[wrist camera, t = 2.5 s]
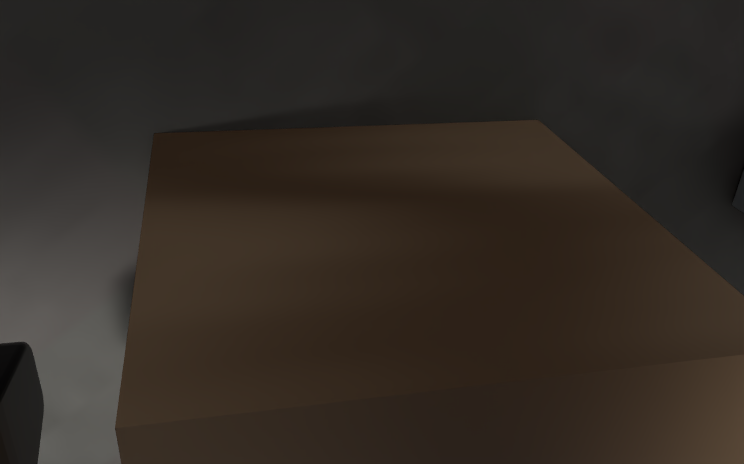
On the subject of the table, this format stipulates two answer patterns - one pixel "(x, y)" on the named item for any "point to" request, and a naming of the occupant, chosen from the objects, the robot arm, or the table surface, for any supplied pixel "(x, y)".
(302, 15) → the table surface
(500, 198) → the walnut cube
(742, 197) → the slate coaster
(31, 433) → the robot arm
